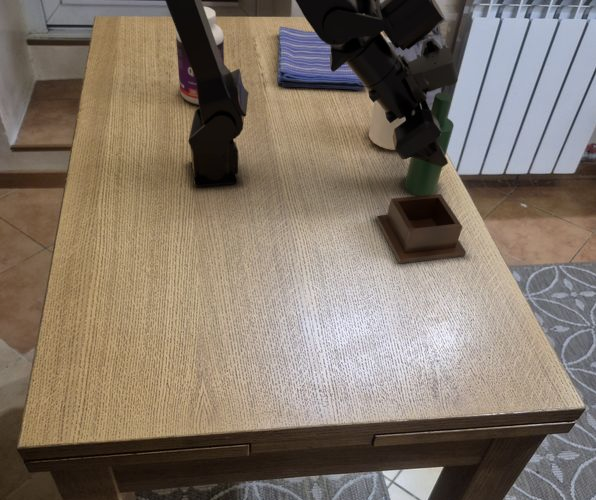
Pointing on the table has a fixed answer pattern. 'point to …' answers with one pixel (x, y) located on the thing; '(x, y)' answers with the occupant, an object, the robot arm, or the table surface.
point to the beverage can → (382, 127)
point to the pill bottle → (184, 67)
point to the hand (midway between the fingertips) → (440, 147)
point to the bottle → (423, 173)
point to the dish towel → (310, 63)
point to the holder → (421, 229)
